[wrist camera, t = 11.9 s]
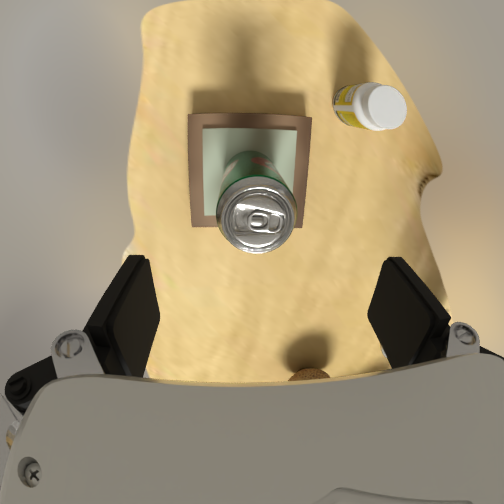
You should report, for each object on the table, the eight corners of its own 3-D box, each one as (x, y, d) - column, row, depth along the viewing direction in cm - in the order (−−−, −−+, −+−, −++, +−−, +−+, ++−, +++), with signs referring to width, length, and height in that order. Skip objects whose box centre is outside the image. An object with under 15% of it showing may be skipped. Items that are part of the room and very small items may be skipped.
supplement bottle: (372, 124, 27) (412, 133, 19) (335, 127, 27) (368, 136, 20) (367, 85, 24) (406, 81, 17) (328, 86, 25) (359, 80, 17)
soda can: (225, 148, 25) (216, 176, 15) (278, 152, 25) (307, 183, 15) (222, 197, 27) (213, 257, 17) (272, 200, 28) (294, 261, 17)
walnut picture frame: (305, 116, 26) (313, 117, 24) (297, 218, 32) (302, 229, 30) (192, 114, 26) (186, 114, 23) (195, 218, 32) (191, 228, 29)
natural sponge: (280, 356, 44) (287, 406, 36) (330, 350, 44) (345, 397, 36) (279, 384, 49) (285, 428, 40) (324, 379, 49) (334, 421, 40)
